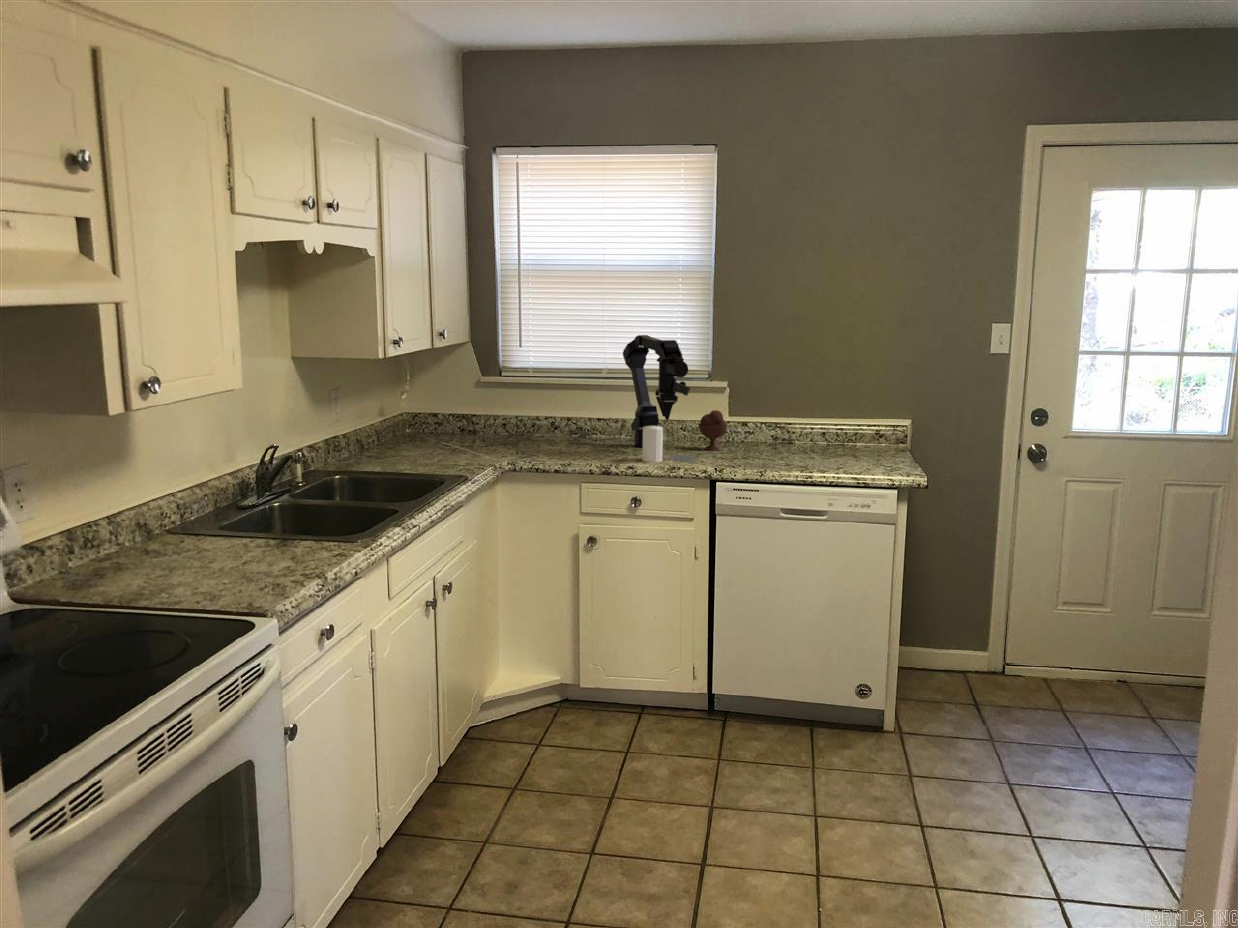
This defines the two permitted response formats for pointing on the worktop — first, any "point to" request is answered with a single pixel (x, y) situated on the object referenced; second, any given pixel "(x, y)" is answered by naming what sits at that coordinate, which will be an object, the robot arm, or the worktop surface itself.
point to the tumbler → (652, 443)
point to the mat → (682, 458)
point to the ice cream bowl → (712, 428)
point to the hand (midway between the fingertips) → (665, 418)
